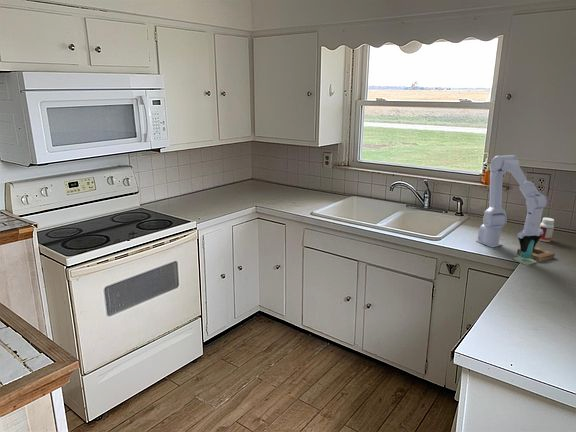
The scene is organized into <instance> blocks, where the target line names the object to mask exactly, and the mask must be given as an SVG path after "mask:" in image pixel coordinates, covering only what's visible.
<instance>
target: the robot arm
mask: <svg viewBox="0 0 576 432" xmlns="http://www.w3.org/2000/svg"><path fill="white" fill-rule="evenodd" d="M506 173H510V174H511V176H512V177H513V178H514V179H515V181H516V182H517V184H519V187H518V189H519V190H520V192H521V194H522V195H523V197H524V198H525V206H526V216H525V220H524V226H523V229H522V230H521V231H520V232H517V235H516V236H517V237H516V238H517V239H518V241H519V246H520V248H519V249H521V251H522V252H526V251H527V248H528V245H529V243H530V241H531V240H534V246H533V249H534V247H536V245H537V243H538V242H539V241H540V239H541V237H542V236H540V234H542V232H543V230H542V229H539V227H540V224H541V222H542V221H541V219H542V216H543V211H544V208H546V207H547V206H548V203H549V202H548V198H547V195H545V194H542V192H539V190H538V189H537V187H536V186H535V183H534V182H533V181H531V180H528V179H527V177H526V175H525V173H524V172H523V170H522V168H521V166H520V160H519V158H518V157H517V156H516V155H515V154H511V155H509V154H508V155H495V156H494V157H493V158H492V159H491V161H490V172H489V205H488V206H489V207H488V208H486V209H485V211H484V212H483V213H484V214H483V218H482V223H483V224H481V225H480V227H479V229H478V235H477V239H476V241H475V242H478V243H480V244H483V245H485V246H487V247H489V248H496V247H500V246H503V243H502V242H500V238H501V233H502V229H503V228H504V226H505V225H506V224H507V221H508V219H507V214H506V212H507V211H506V210H505V209H504V208H503V206H502V205H503V178H504V176H503V175H504V174H506Z"/></svg>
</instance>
